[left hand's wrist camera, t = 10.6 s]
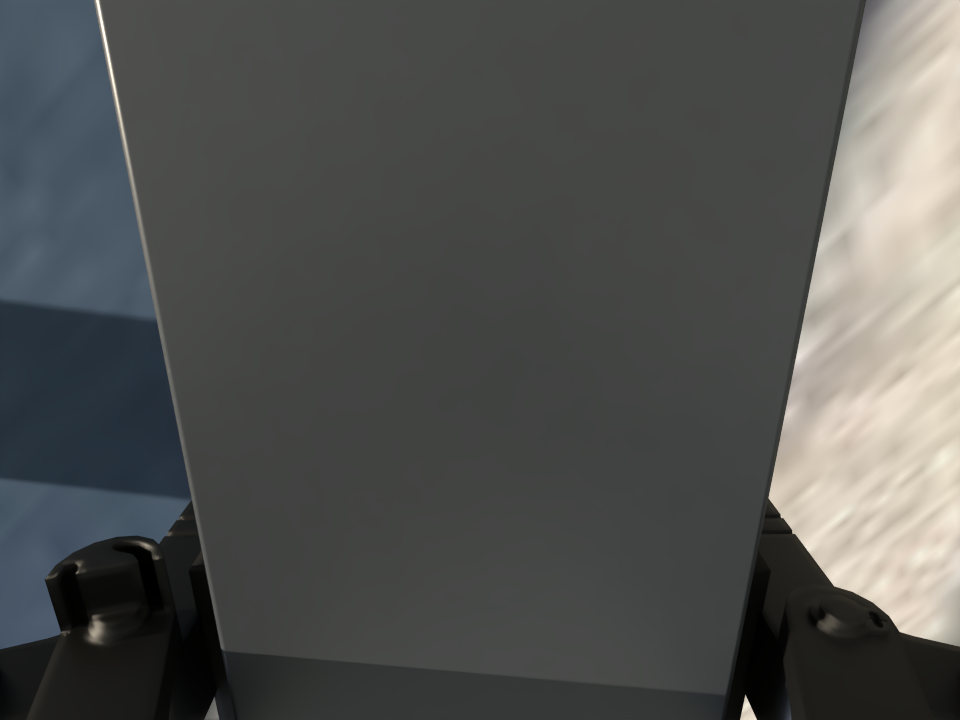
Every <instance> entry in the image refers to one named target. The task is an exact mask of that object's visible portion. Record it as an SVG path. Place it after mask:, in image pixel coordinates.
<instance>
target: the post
mask: <svg viewBox="0 0 960 720" xmlns="http://www.w3.org/2000/svg"><path fill="white" fill-rule="evenodd" d="M94 2H95V7H96V12H97V18H98V23H99V28H100V33H101V38H102V43H103V48H104V53H105V58H106V63H107V69H108V74H109V79H110V84H111V89H112V94H113V99H114V104H115V109H116V115H117V120H118V125H119V130H120V135H121V140H122V145H123V150H124V155H125V160H126V166H127V171H128V176H129V181H130V186H131V191H132V196H133V201H134V206H135V211H136V217H137V222H138V227H139V232H140V237H141V242H142V247H143V252H144V257H145V263H146V268H147V273H148V278H149V283H150V288H151V293H152V298H153V303H154V308H155V314H156V319H157V324H158V329H159V334H160V339H161V344H162V349H163V354H164V360H165V365H166V370H167V375H168V380H169V385H170V390H171V395H172V400H173V405H174V411H175V416H176V421H177V426H178V431H179V436H180V441H181V446H182V451H183V457H184V462H185V467H186V472H187V477H188V482H189V487H190V492H191V497H192V502H193V508H194V513H195V518H196V523H197V528H198V533H199V538H200V543H201V548H202V554H203V559H204V564H205V569H206V574H207V579H208V584H209V589H210V594H211V599H212V605H213V610H214V615H215V620H216V625H217V630H218V635H219V640H220V645H221V650H222V656H223V661H224V666H225V671H226V676H227V681H228V686H229V691H230V696H231V702H232V707H233V712H234V717H235V720H725V716H726V711H727V706H728V701H729V696H730V691H731V685H732V680H733V675H734V670H735V665H736V660H737V655H738V650H739V645H740V640H741V634H742V629H743V624H744V619H745V614H746V609H747V604H748V599H749V594H750V589H751V584H752V578H753V573H754V568H755V563H756V558H757V553H758V548H759V543H760V538H761V533H762V527H763V522H764V517H765V512H766V507H767V502H768V497H769V492H770V487H771V482H772V476H773V471H774V466H775V461H776V456H777V451H778V446H779V441H780V436H781V431H782V425H783V420H784V415H785V410H786V405H787V400H788V395H789V390H790V385H791V380H792V374H793V369H794V364H795V359H796V354H797V349H798V344H799V339H800V334H801V329H802V323H803V318H804V313H805V308H806V303H807V298H808V293H809V288H810V283H811V278H812V272H813V267H814V262H815V257H816V252H817V247H818V242H819V237H820V232H821V227H822V221H823V216H824V211H825V206H826V201H827V196H828V191H829V186H830V181H831V176H832V171H833V165H834V160H835V155H836V150H837V145H838V140H839V135H840V130H841V125H842V120H843V114H844V109H845V104H846V99H847V94H848V89H849V84H850V79H851V74H852V69H853V63H854V58H855V53H856V48H857V43H858V38H859V33H860V28H861V23H862V18H863V12H864V7H865V2H866V0H94Z"/></svg>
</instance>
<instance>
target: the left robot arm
mask: <svg viewBox="0 0 960 720" xmlns="http://www.w3.org/2000/svg"><path fill="white" fill-rule="evenodd" d="M45 582H46V585H47V588H48V592H49V595H50V598H51V601H52V604H53V607H54V611H55V614H56V617H57V620H58V623H59V627H60V630H61V634H60V635H58V636H54V637H51V638H48V639H44V640H39V641H35V642H31V643H26V644H22V645H18V646H13V647H9V648H5V649H0V720H204V718H205V716H206V714H207V712H208V710H209V707H210V705H211V703H212V701H213V699H214V696H215V701H216V705H217V710H218V715H219V720H235V717H234V712H233V707H232V702H231V696H230V691H229V686H228V681H227V676H226V671H225V666H224V661H223V656H222V650H221V645H220V640H219V635H218V630H217V625H216V620H215V615H214V610H213V605H212V599H211V594H210V589H209V584H208V579H207V574H206V569H205V564H204V559H203V554H202V548H201V543H200V538H199V533H198V528H197V523H196V518H195V513H194V508H193V502H192V500H191V502H190V503H189V504H188V506H187V507H186V508H185V510H184V511H183V513H182V514H181V515H180V517H179V520H177V521H176V522H175V523H174V525H173V526H172V527H171V529H170V530H169V531H168V536H165V537H164V538H163V539H162V541H161V542H160V544H158V543H157V542H155V541H154V540H153V539H150V538H145V537H140V536H125V537H115V538H111V539H107V540H103V541H100V542H96V543H93V544H91V545H89V546H87V547H85V548H82V549H80V550H78V551H76V552H74V553H72V554H71V555H69V556H68V557H67V558H65V559H64V560H63V561H61V562H60V563H58V564H57V565H56V566H55V567H54V568H53V570H52V571H51V572H50V573H49V575H48V576H47V577H46V579H45ZM745 694H746V696H747V699H748V701H749V703H750V705H751V707H752V710H753V712H754V714H755V716H756V718H757V720H960V647H958V646H954V645H950V644H945V643H941V642H936V641H932V640H928V639H923V638H919V637H915V636H911V635H908V634H904V633H901V632H899V630H898V629H897V627H896V626H895V624H894V623H893V621H892V620H891V618H890V617H889V616H888V615H887V614H886V613H885V612H883V611H882V610H881V609H880V608H878V607H877V606H876V605H875V604H874V603H872V602H871V601H869V600H867V599H865V598H863V597H861V596H859V595H857V594H855V593H853V592H851V591H847V590H844V589H841V588H837V587H834V586H833V584H832V583H831V582H830V580H829V579H828V578H827V576H826V575H825V574H824V572H823V571H822V570H821V568H820V567H819V566H818V564H817V563H816V562H815V560H814V559H813V557H812V556H811V555H810V553H809V552H808V551H807V549H806V548H805V547H804V545H803V544H802V543H801V541H800V540H799V539H798V537H797V536H796V535H795V534H792V529H791V528H790V527H789V525H788V524H787V523H786V521H785V520H784V519H783V518H781V517H780V513H779V512H778V511H777V509H776V508H775V507H774V505H773V504H772V503H771V501H770V500H769V499H768V502H767V507H766V512H765V517H764V522H763V527H762V533H761V538H760V543H759V548H758V553H757V558H756V563H755V568H754V573H753V578H752V584H751V589H750V594H749V599H748V604H747V609H746V614H745V619H744V624H743V629H742V634H741V640H740V645H739V650H738V655H737V660H736V665H735V670H734V675H733V680H732V685H731V691H730V696H729V701H728V706H727V711H726V716H725V720H740V717H741V713H742V708H743V703H744V698H745Z"/></svg>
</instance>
